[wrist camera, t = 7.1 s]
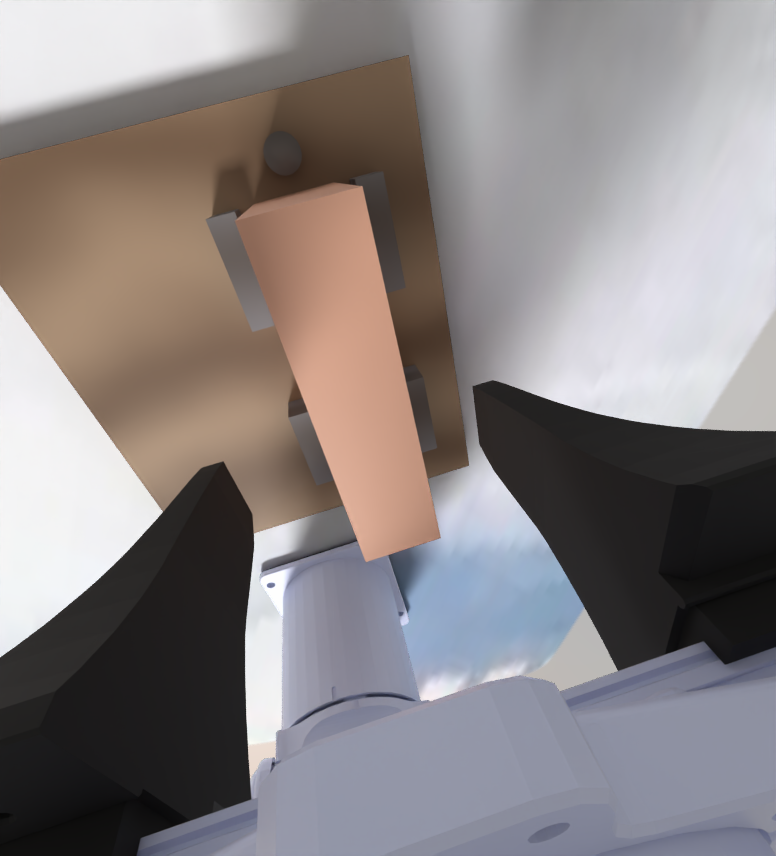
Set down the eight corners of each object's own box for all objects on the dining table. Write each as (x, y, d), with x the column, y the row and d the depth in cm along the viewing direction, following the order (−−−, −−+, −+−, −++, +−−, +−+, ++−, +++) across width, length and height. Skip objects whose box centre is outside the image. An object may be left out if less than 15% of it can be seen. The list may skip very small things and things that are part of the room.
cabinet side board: (461, 453, 25) (479, 481, 23) (196, 536, 24) (186, 574, 22) (400, 62, 15) (420, 43, 13) (-51, 178, 14) (-115, 178, 12)
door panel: (399, 441, 22) (440, 538, 16) (344, 458, 22) (365, 562, 16) (333, 182, 16) (362, 186, 10) (254, 203, 15) (234, 220, 9)
